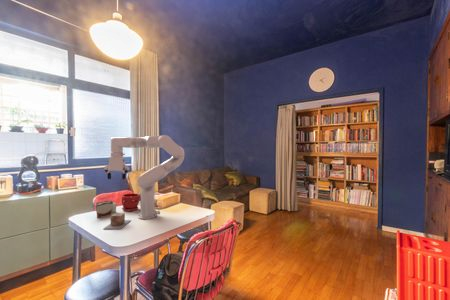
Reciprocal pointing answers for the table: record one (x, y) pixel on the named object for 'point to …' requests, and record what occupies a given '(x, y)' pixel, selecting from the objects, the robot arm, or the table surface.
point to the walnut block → (117, 219)
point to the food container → (103, 208)
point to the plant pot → (130, 202)
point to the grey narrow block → (113, 208)
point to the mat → (117, 226)
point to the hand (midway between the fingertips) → (116, 179)
